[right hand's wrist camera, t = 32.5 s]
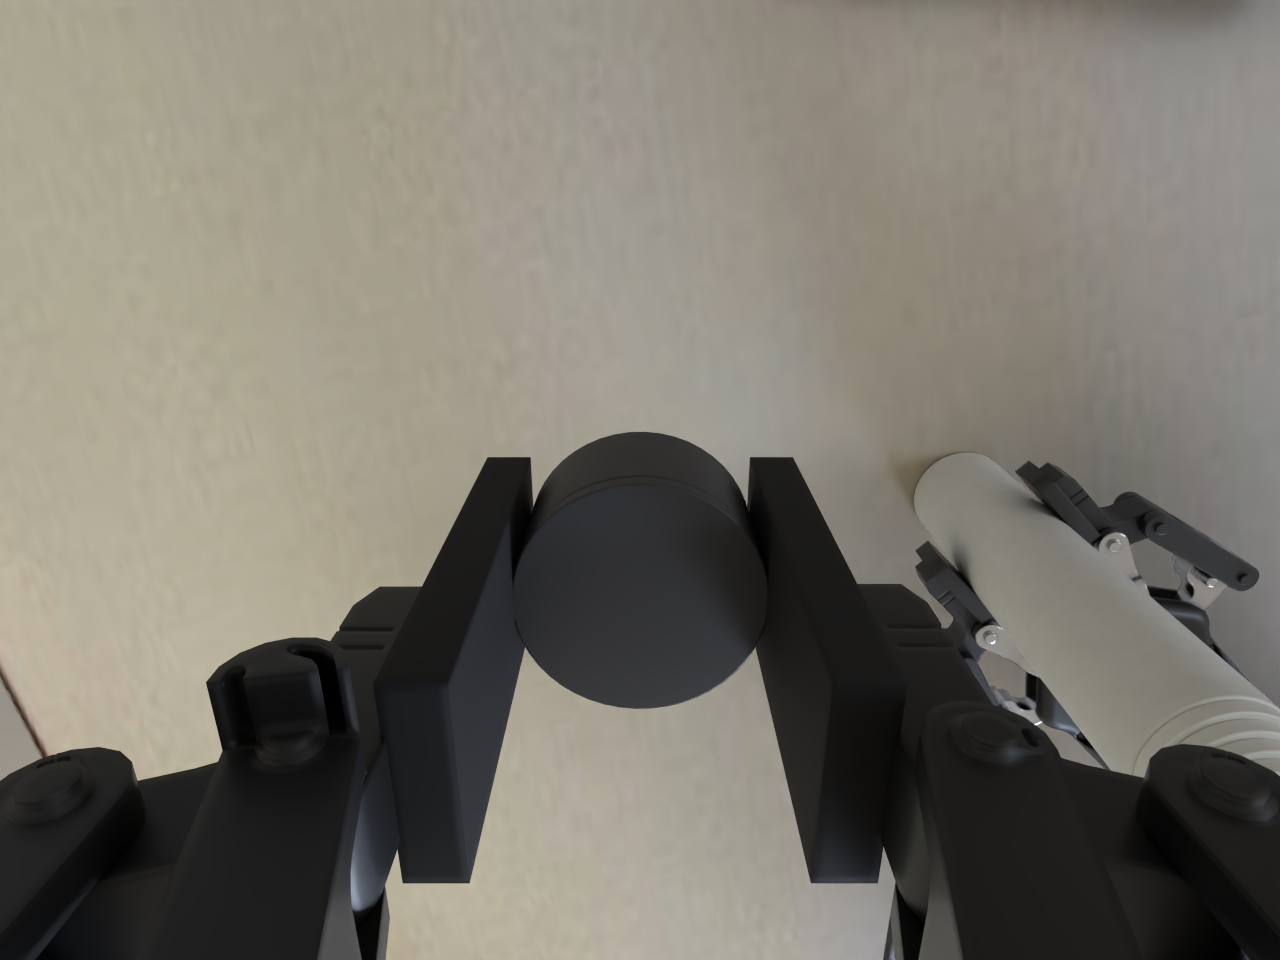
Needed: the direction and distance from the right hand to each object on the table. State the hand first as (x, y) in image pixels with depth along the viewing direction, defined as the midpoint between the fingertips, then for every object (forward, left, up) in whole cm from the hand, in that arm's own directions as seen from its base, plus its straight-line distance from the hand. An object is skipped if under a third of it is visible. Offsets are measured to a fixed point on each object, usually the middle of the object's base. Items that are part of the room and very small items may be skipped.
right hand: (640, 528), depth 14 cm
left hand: (+7, +15, -18) cm, 24 cm away
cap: (0, 0, +2) cm, 2 cm away
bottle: (+9, +16, -24) cm, 31 cm away
